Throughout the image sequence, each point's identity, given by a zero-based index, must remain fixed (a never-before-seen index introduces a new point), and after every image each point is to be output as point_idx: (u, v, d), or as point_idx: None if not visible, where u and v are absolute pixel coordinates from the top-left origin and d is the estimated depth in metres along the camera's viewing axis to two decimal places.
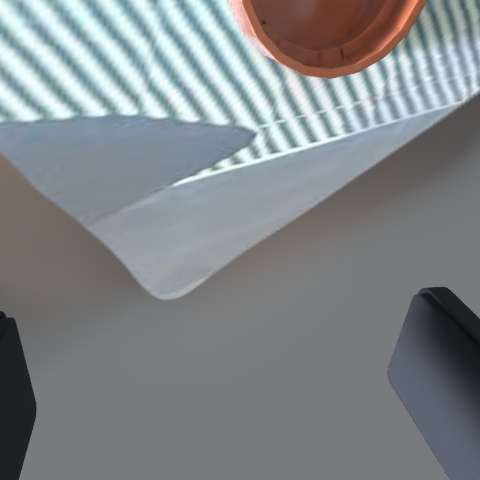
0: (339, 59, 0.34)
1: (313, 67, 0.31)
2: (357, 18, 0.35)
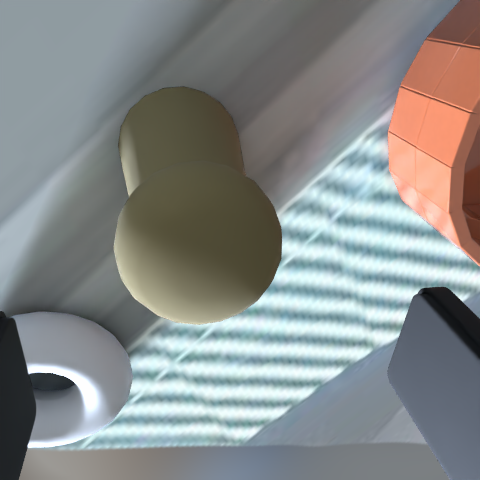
0: None
1: None
2: None
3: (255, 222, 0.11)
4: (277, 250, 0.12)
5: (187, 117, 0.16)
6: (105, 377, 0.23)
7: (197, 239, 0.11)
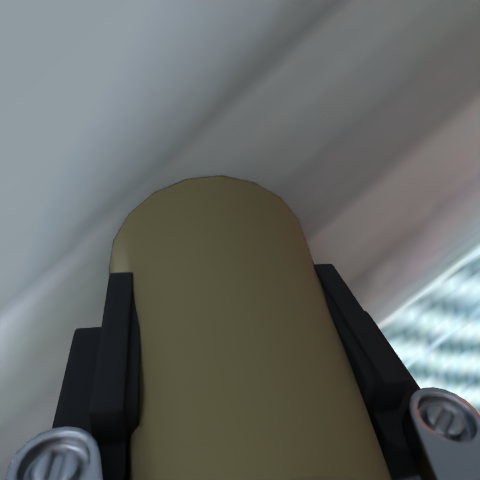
0: None
1: None
2: None
3: None
4: None
5: (241, 266, 0.08)
6: None
7: None
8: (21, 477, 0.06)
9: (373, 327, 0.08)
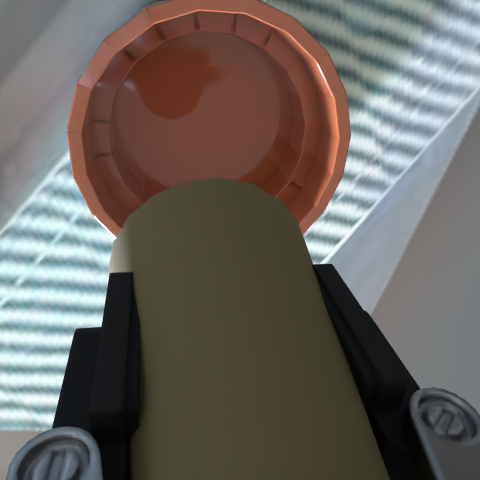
0: (297, 191, 0.26)
1: None
2: (287, 121, 0.27)
3: None
4: None
5: (241, 268, 0.08)
6: None
7: None
8: (21, 477, 0.06)
9: (373, 327, 0.08)
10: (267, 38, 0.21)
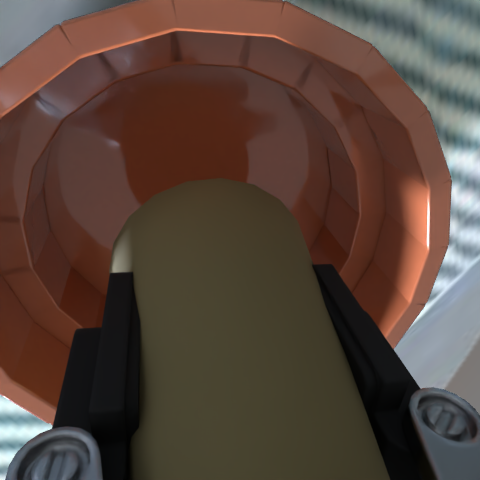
0: None
1: None
2: (324, 193, 0.17)
3: None
4: None
5: (241, 268, 0.08)
6: None
7: None
8: (21, 477, 0.06)
9: (373, 327, 0.08)
10: (305, 75, 0.12)
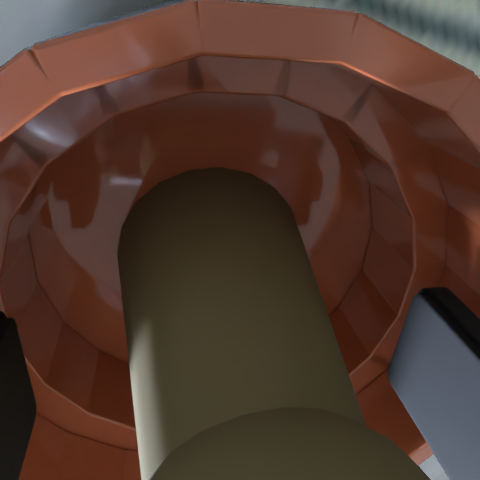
0: (384, 371, 0.14)
1: None
2: (364, 235, 0.14)
3: None
4: None
5: (237, 243, 0.09)
6: None
7: None
8: None
9: None
10: (359, 104, 0.09)
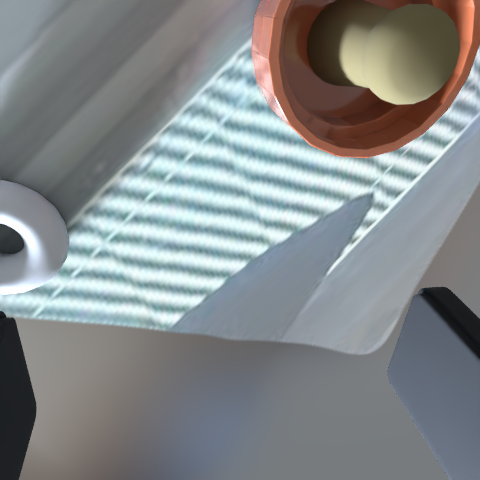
0: None
1: (402, 137, 0.30)
2: None
3: (454, 30, 0.22)
4: (458, 53, 0.22)
5: (376, 5, 0.27)
6: (43, 230, 0.32)
7: (428, 34, 0.21)
8: None
9: None
10: None
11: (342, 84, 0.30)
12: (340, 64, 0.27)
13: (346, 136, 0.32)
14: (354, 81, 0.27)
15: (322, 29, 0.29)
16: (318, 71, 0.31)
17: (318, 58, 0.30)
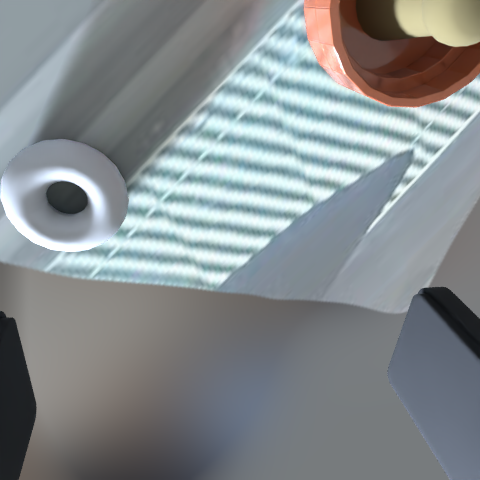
0: (463, 50, 0.33)
1: (451, 86, 0.31)
2: None
3: None
4: None
5: None
6: (108, 187, 0.33)
7: None
8: None
9: None
10: None
11: (391, 37, 0.32)
12: (394, 14, 0.29)
13: (394, 89, 0.33)
14: (408, 30, 0.29)
15: None
16: (367, 26, 0.32)
17: (369, 12, 0.31)
